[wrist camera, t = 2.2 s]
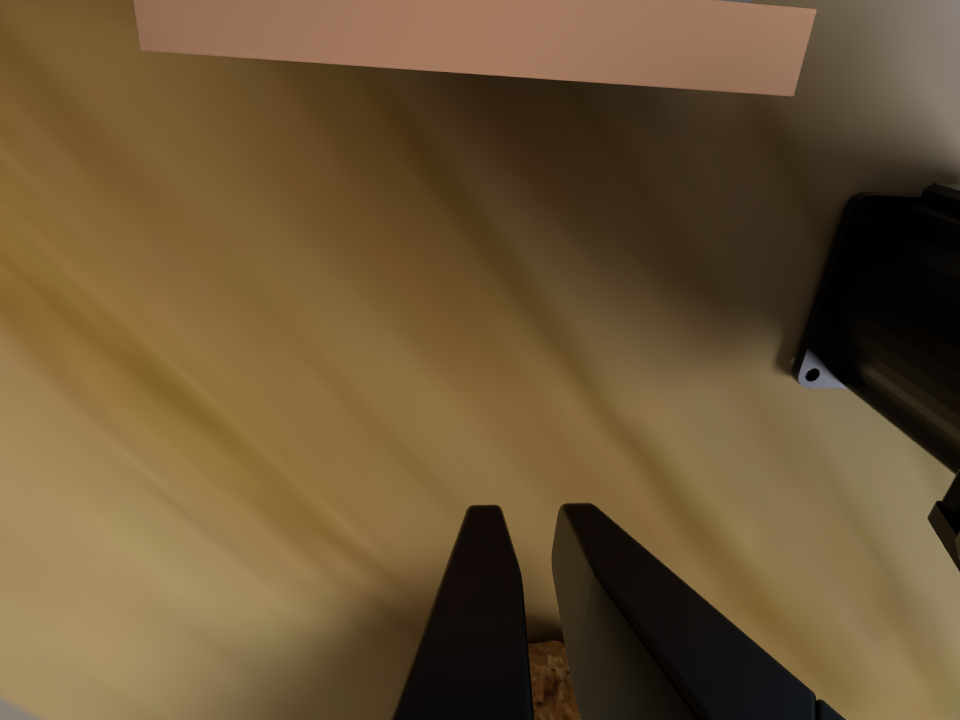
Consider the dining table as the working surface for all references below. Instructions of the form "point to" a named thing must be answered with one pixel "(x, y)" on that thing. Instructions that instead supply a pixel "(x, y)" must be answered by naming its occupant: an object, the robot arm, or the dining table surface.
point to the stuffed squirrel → (551, 682)
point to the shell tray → (504, 38)
